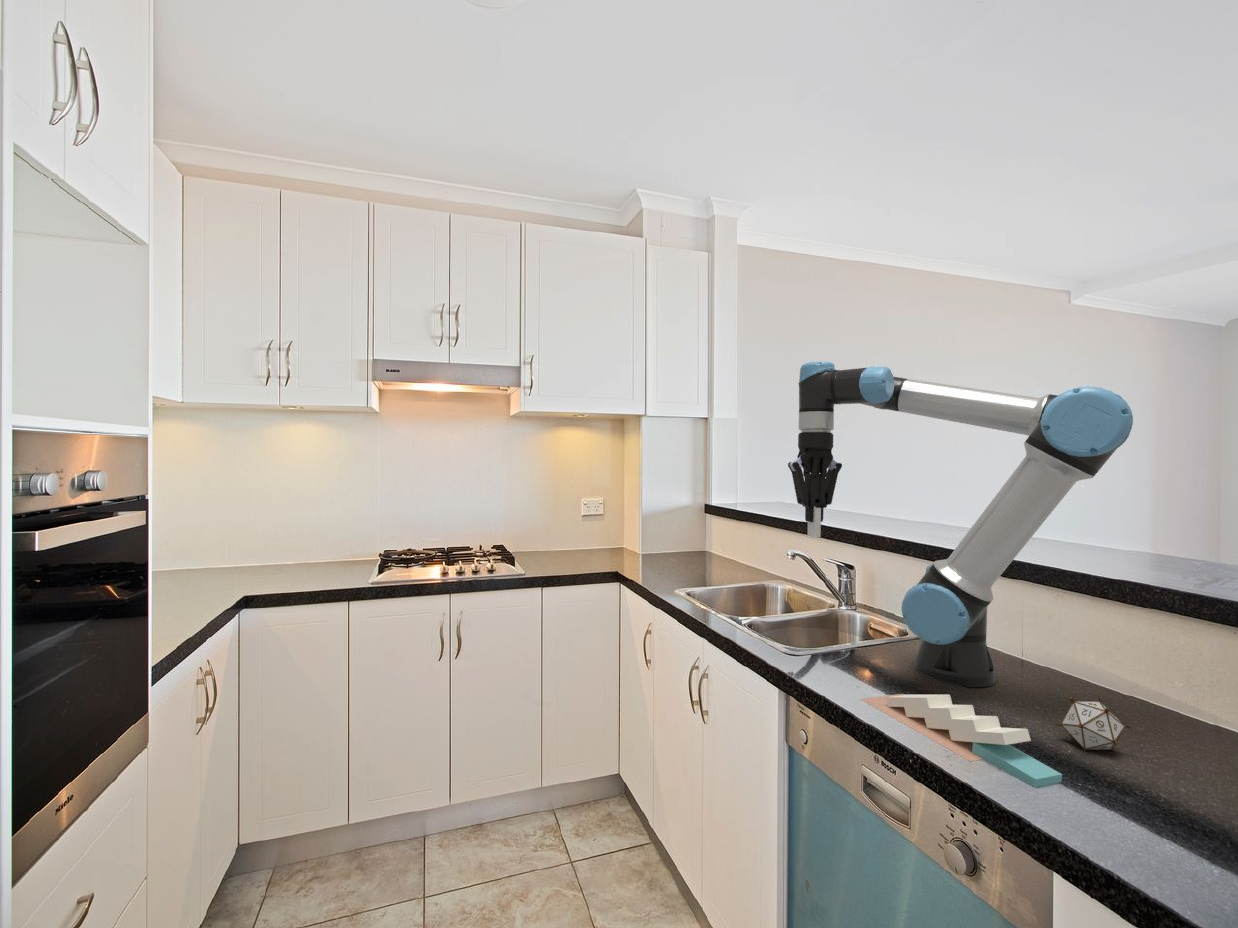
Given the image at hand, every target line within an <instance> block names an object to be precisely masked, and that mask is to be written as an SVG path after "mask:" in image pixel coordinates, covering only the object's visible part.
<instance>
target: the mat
mask: <svg viewBox="0 0 1238 928" xmlns="http://www.w3.org/2000/svg"><path fill="white" fill-rule="evenodd" d="M900 695H906V694H905V693H898V694H897V693H896V694H888V695H881V696H873V697H864V698H860V701H863V702H865V703H866V704H867V705H869V706H872V707H873V708H875V709H876V710H879V711H880V712H882V713H884V714H885V715H887V716H889V717H890V718H892V719H895V720H896V721H898V722H900V723H901V724H903V725H904V726H907V727H909V728H910V729H912V730H914V731H915V732H917V733H919V734H921V735H923V736H924V737H926V738H928V739H930V740H932V742H935V743H937V744H938V745H941V746H942V747H944V748H945V749H947V750H949V751H951V752H953V753H954V754H956V755H957V756H960V757H961V758H964V759H965V760H966V761H968V762H970V763H971V762H976V761H982V760H983V761H984V759H982V758H981V757H979V756H978V755H976V754H974V753H973V752H972V749H973V742H965V741H953V740H951V737H950V733H949V730H948V729H933V728H927V726H926V722H925V718H919V717H906V713H905V708H904V707H888V705H887V701H886V697H892V696H900Z"/></svg>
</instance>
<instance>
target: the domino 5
mask: <svg viewBox="0 0 1238 928" xmlns="http://www.w3.org/2000/svg"><path fill="white" fill-rule="evenodd" d="M972 752H973V753H974V754H976V755H978V756H979V757H981V758H982V759H983V761H986V762H987V763H989V764H991V765H993V766H994V767H996V768H999V769H1000V770H1002V771H1003V772H1006V773H1007V774H1009V775H1011V776H1013V777H1015V778H1017V779H1018V780H1020V781H1021V782H1024V783H1025V784H1027V785H1029V786H1032V787H1033V788H1040V787H1041V788H1042V787H1047V786H1051V785H1054V784H1055V785H1056V784H1061V783H1062V779H1063V774H1062V773H1061V772H1059V771H1057V770H1055V769H1053V768H1052V767H1050V766H1049V765H1046V764H1045V763H1043V762H1041V761H1039V760H1038V759H1035V758H1034V757H1032V756H1031V755H1028V754H1027V753H1025V752H1023V751H1021V750H1019V749H1018V748H1016V747H1014V746H1012V744H1008V745H1000V744H988V743H976V742H973V749H972Z"/></svg>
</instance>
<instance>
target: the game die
mask: <svg viewBox="0 0 1238 928" xmlns="http://www.w3.org/2000/svg"><path fill="white" fill-rule="evenodd" d="M1069 700H1070V701H1071V704H1070V706H1068V709H1067V711H1066V714H1065V715H1064V717H1063V718H1062V720H1061V722H1056V723H1054V725H1055V726H1057V727H1058V726H1059V727H1060V726H1061V727H1063V729H1064V730H1065V731H1066V732H1067V733H1068V735H1070V736H1071V737H1072V738H1073V739H1074V740H1075V741H1076V742H1077V743H1078V745H1080V746H1081V747H1082V748H1083V751H1084V752H1087V751H1089V750H1090V751H1111V752H1114V753H1116V752H1117V751H1116V750H1115V749H1114V748H1115V746H1116V747H1120V743H1119V742H1118V741H1119V740H1120V737H1122V734H1123V732H1124V730H1125V729H1131V728H1132V727H1133V726H1132V725H1130V724H1124V723H1123V722H1122V721H1121V720H1120V719H1119V718H1118V717H1117V716H1116V715H1115V714H1114V713H1113V712H1111V709H1110V708H1109V707H1107V706H1105V704H1104V703H1102V701H1103V698H1102V696H1100V697H1098V699H1097V700H1093V701H1092V700H1091V701H1090V700H1088V701H1087V700H1075V698H1074V697H1072V696H1069Z"/></svg>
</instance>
